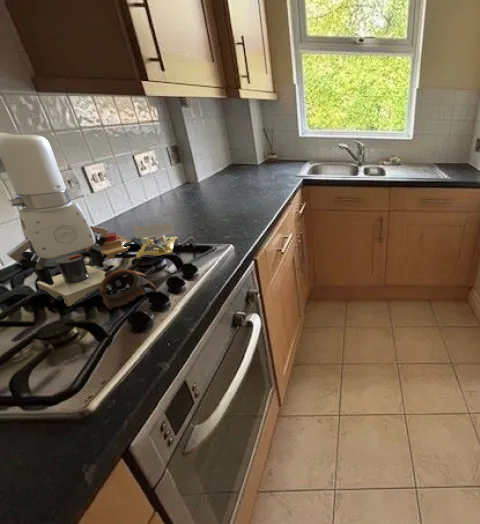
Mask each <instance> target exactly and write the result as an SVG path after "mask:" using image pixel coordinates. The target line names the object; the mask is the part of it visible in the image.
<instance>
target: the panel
mask: <svg viewBox="0 0 480 524" xmlns="http://www.w3.org/2000/svg"><path fill="white" fill-rule="evenodd" d="M86 268H87V271H88V273H89V278H88V279H86V280H84V281H81V282H77V283H65V281H64V279H63V277H62V274H61V273H60V274H57V275H54V276H51V277H52V279H53V282H54V284H53V285H48V284H46V283H44V282H40V281H39V280H38V281H36V284H37V287H38V289H39V290H40V289H43V290H45V291H47V292H48V293H49V294H50V295H51V296H52V297H56V296H59V295H61V296H62V297H63V299H64V303H65V304H66V305H65V306H66V307H68V308H70V307H69V306H71V305H72V304H74V303H75V302H76V301H78V300H79V299H81V298H82V297H84V296H85V295H86V294H87V293H89V292H91V291H93V290H94V289H96V288H98V287H100V284H101V282H102V281H103V279H104V278H105V276H104V275H105V273H106V272H107V271H104V270H102V269H98V268H96V267H93V266H91V265H89V264H88V265H86ZM106 287H110V285H108V284H107V286H106Z"/></svg>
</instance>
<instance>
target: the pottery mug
mask: <svg viewBox="0 0 480 524" xmlns="http://www.w3.org/2000/svg"><path fill="white" fill-rule="evenodd" d="M105 272H106V273H105V275H104V276H105V278H104V279H103V281H102V282H101V284H100V288H99V290H100V293H101V294H102V295H101V297H102V301H103V305H104V306H105V307H106V308H107V309H109V310H113V308H118V307H121V306H125V305H128V304H130V302H133V301H135V300H136V299H138V297H140V296H145V295H146V292H145V291H144V290H143V289H144V288H147V289H151V290H152V291H153V292H154V291H156V292H157V290H156V286H155V285H154V284H153V283H152V282H151V280H149V279H148V277H147V275H146V274H145V273H143V272H141V271H136V270H133V269H132V270H131V269H127V268H126V269H124V268H122V269H117V270H114V269H108V270H107V271H105ZM107 284H108V285H110V286H111V287H113V288H114V290H113V291H116V290H118V289H123V288H125V287H126V288H127V287H129V288H128V289H127V290H125V291H123V292H122V293H119V294H114V295H113V294H108V293H106V291H105V289H106V286H107ZM140 286H143V287H144V288H141V287H140ZM126 288H125V289H126Z"/></svg>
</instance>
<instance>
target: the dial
mask: <svg viewBox="0 0 480 524" xmlns="http://www.w3.org/2000/svg"><path fill="white" fill-rule="evenodd" d="M55 262H56V265H57V268H58V270H59V272H60V274H62V277H63V279H64V281H65V283H77V282H81V281H84V280H86V279H88V278H89V273H88V271H87V268H86V266H87V265H86V263H85V260H84V259H83V256H82V254H80V253H78V254H73V255H72V254H71V255H67V256H66V255H65V256H63V257H60V258H59V259H57V260H56V261H55Z"/></svg>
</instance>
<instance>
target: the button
mask: <svg viewBox="0 0 480 524" xmlns="http://www.w3.org/2000/svg"><path fill="white" fill-rule="evenodd" d="M117 235H118V233H117V232H107V235H106V238H105V239H106V241H105V242H110V241H115V240H117V239H118V236H117Z"/></svg>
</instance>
